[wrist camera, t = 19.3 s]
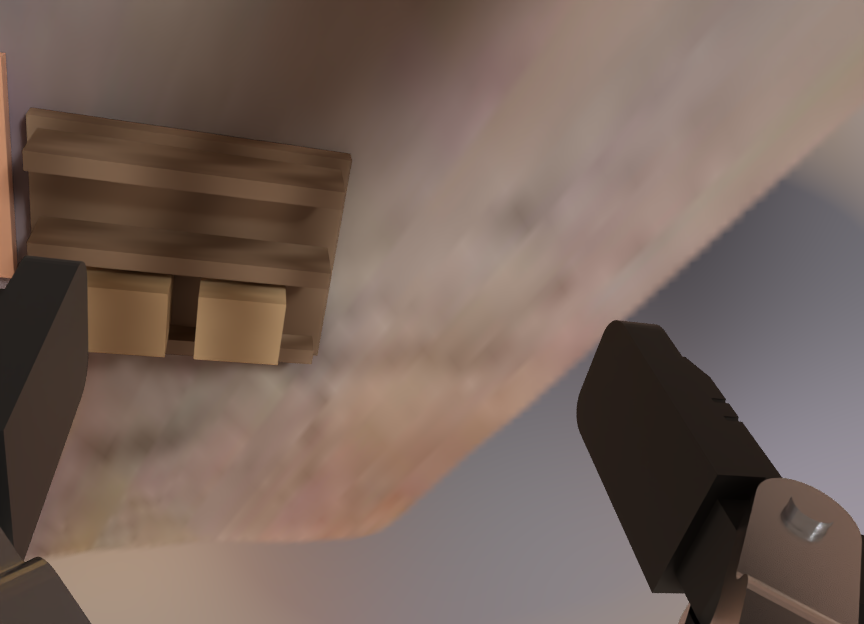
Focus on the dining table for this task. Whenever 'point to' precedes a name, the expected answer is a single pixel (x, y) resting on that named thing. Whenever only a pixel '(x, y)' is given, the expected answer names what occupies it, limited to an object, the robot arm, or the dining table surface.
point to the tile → (6, 184)
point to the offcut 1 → (128, 311)
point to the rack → (189, 213)
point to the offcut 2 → (239, 321)
